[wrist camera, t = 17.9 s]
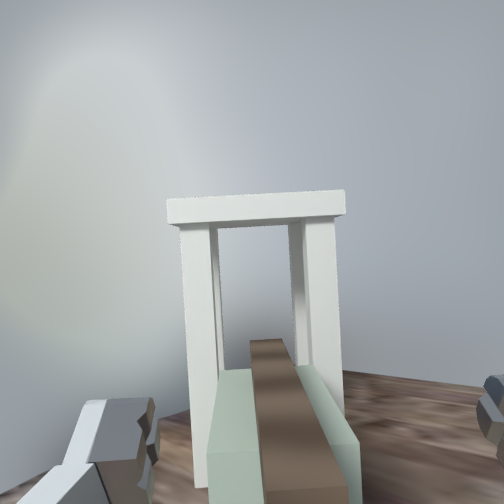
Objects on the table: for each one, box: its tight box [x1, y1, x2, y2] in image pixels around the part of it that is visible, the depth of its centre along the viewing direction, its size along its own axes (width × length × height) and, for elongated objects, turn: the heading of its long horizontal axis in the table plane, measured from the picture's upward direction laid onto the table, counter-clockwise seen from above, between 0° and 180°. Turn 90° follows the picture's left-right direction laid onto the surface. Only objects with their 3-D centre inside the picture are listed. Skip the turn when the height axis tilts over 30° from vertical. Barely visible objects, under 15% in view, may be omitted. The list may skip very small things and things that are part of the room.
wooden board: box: [250, 339, 349, 504], centre depth 27 cm, size 24×3×3 cm, turn 2°
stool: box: [166, 190, 346, 488], centre depth 51 cm, size 18×18×30 cm
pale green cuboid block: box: [206, 365, 363, 504], centre depth 33 cm, size 16×9×13 cm, turn 2°
